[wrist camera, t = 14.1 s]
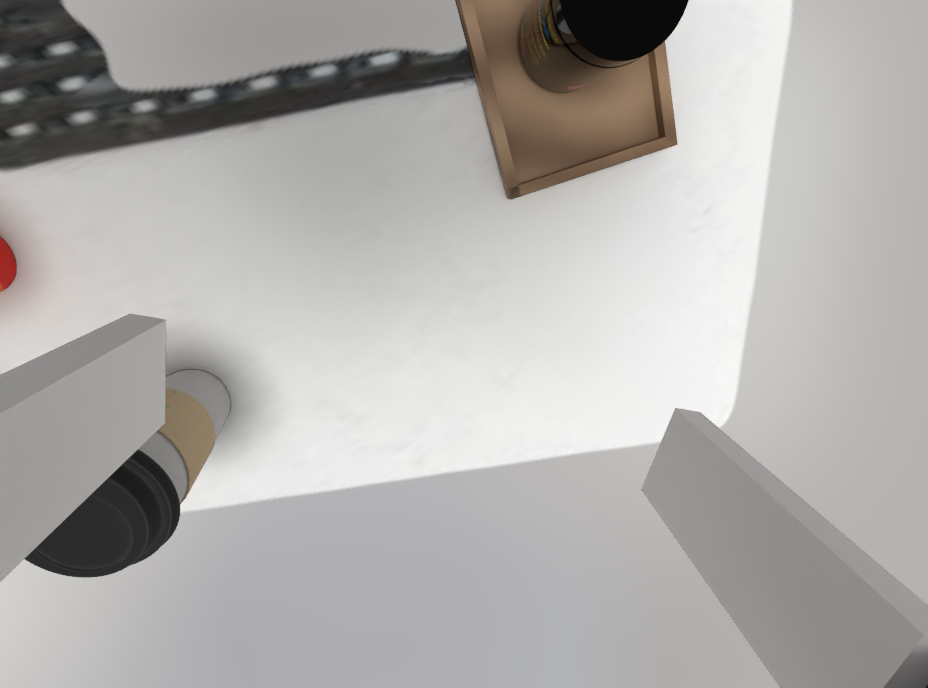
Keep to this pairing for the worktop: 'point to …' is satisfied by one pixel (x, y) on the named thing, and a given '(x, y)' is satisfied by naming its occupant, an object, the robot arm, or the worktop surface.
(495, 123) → the tray
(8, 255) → the paper cup
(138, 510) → the coffee cup
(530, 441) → the worktop surface
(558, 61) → the supplement container
